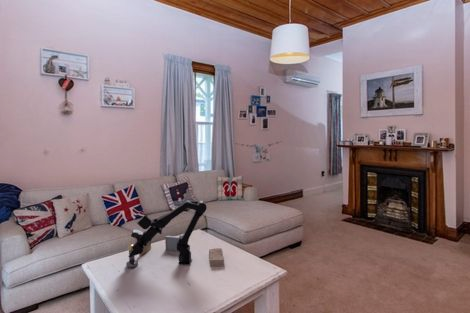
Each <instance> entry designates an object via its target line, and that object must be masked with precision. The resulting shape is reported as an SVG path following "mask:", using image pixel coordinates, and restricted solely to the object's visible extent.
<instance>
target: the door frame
mask: <svg viewBox="0 0 470 313" xmlns="http://www.w3.org/2000/svg"><path fill="white" fill-rule="evenodd" d="M164 239H165V242H164V243H165V251H177V252H179V251H178V250H177V245H176V243H177V240H178V239H179V236H175V235H173V236H172V235H165V238H164Z"/></svg>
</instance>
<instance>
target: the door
mask: <svg viewBox="0 0 470 313" xmlns="http://www.w3.org/2000/svg"><path fill="white" fill-rule="evenodd" d="M151 241H152V240H151ZM151 241H150V242H149V243H148V244H147V245H146V246H143V247H144V251H143V252H142V253H141V254H138V255H139V256H140V257H142V256H143V255H144V254H146V253H147V252H148V251H150V250H151V249H152V242H151Z"/></svg>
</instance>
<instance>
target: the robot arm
mask: <svg viewBox="0 0 470 313" xmlns="http://www.w3.org/2000/svg"><path fill="white" fill-rule="evenodd" d="M188 209H190V210H193V211H194V213H193V215H192V217H191V219H190V221H189V222H188V225H187V226H186V229H185V231H184V233H183V235H179V236H178V237H179V239H178V240H177V243H176V245H177V250H178V251H177V252H179V254H178V264H180V265H190V264H191V262H192V261H193V259H192V251H191V245H190V244H189V240H190V237H191V235H192V234H193V231H194V229H195V228H196V226H197V224H198V222H199V220H200V218H201V217H202V216H203V215H204V214H205V212H206V211H207V203H206V202H205V201H204V200H197V201H196V200H188V199H187V200H185V201H184V202H182V203H181V204H180V205H178V206H177V207H175V208H173V210H171V211H170V212H168V213H166V214H162V215H160V216H158V218H152V219H151V218H150V217H149V216H148V215H147V214H145V215H143V216H142V217H141V218H139V220H138V221H137V222H136V225H138V227H140V228H142V230H145V231H141V230H138V229H135V228H134V229H133V231H132V233H131V235H130V237H132V238H134V239H136V241H137V242H135V243H134V244H133V247H132V248H133V250H132V252H131V253H130V255H129V254H128V258H129V257H132V256H137V255H139V254H141V253H142V252H143V251H144V247H143V246H146V245H147V244H148V243H149V242H150V241H152V240H153V239H154V238H155V237H156V235H157V234H159V235H162V233H163V229H164V228H165V227H166V226H168V225H169V223H170V222H171V221H172V220H173V219H175V218H176V217H178V216H179V215H180V214H181V213H183V212H185V211H186V210H188Z"/></svg>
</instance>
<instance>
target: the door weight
mask: <svg viewBox="0 0 470 313" xmlns="http://www.w3.org/2000/svg"><path fill="white" fill-rule="evenodd" d="M133 245H134V244H132V243H131V244H129V245H128V247H127V249H128V259H129V260H128V261H126V264H125V266H126V268H127V269H134V268H138V266H139V261H138V260H136V258H135V256H136V255H135V256H132V257H129V255H130V253H131V252H132V250H133V248H132V247H133Z"/></svg>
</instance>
